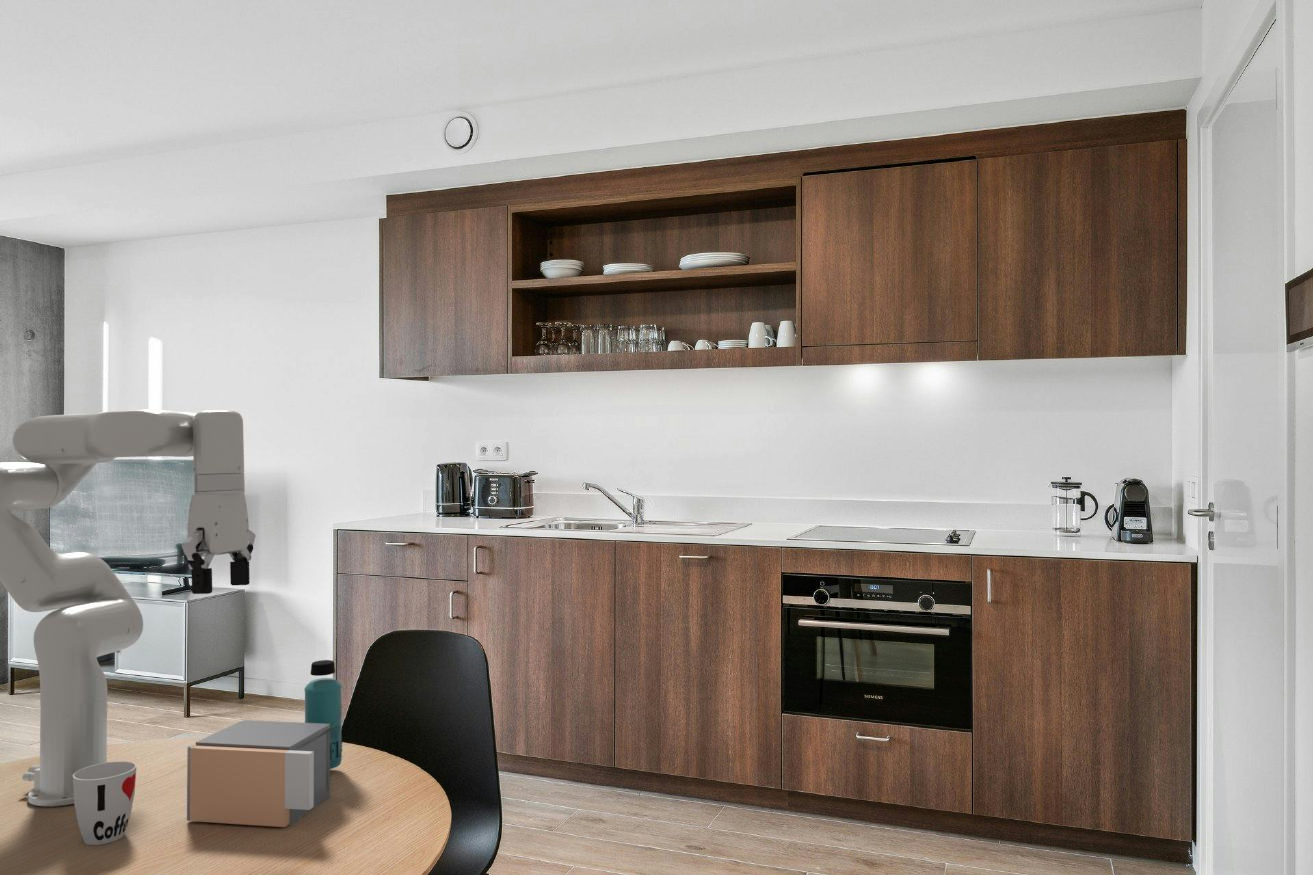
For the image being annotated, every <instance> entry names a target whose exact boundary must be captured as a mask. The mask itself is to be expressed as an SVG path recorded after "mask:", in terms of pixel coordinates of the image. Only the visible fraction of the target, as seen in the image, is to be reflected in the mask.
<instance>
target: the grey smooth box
mask: <svg viewBox="0 0 1313 875" xmlns="http://www.w3.org/2000/svg"><path fill="white" fill-rule="evenodd" d="M195 746H214V747H234V748H255V749H275V750H295V751H314V807H313V808H311V809H310V810H302V809H289V824H288V825H287V826H291V825H292V824H294V823H295V822H297V821H299V819H300V818H302V817H303V816H305V815H306V814H308V812H310V811H312V810H313V809H314V808H316V807H317V806H319V805H321V804H322V803H323V802H324V801H325V800H327V799H328V798H330V797H331V769H330V724H321V723H305V722H298V721H297V722H294V721H272V720H271V721H270V720H251V719H250V720H249V719H248V720H247V719H242V720H240V721H238V722H237V723H234V724H231V725H229V726H227V727H225V728H223V729H221V730H218V731H216V732H215V733H213V734H210V735H208V736H206V737H204V738H202V739H200V740H198V741H196V742H195ZM287 826H286V827H287Z"/></svg>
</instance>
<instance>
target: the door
mask: <svg viewBox="0 0 1313 875" xmlns="http://www.w3.org/2000/svg"><path fill="white" fill-rule="evenodd" d="M186 752H187V753H186V754H187V757H186V758H187V760H186V763H187V765H186V770H187V771H186V773H187V774H186V821H188V822H200V823H214V824H215V823H216V824H231V825H248V826H262V827H276V828H278V827H280V828H285V827H287V825H288V824H289V809H302V810H310V809H311V808H313V807H314V751H295V750H275V749H255V748H234V747H214V746H196V745H189V746H187V751H186ZM314 808H315V807H314ZM314 808H313V809H314ZM310 811H311V810H310Z"/></svg>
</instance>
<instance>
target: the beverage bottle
mask: <svg viewBox="0 0 1313 875" xmlns="http://www.w3.org/2000/svg"><path fill="white" fill-rule="evenodd" d="M335 673H336V667H335V661H334V660H331V659H323V660H322V659H321V660H316V661H313V662H312V663H311V665H310V675H312V676H317V677H321V676H328V675H334V674H335ZM342 708H343V703H342V683H340V682H339V681H338V680H337V679H336V678H334V677H321V678H315V679H312V680H311V681H309V683H308V684H306V685H305V687H304V723H321V724H330V770H331V769H332V770H333V769H335V768H338V767H339V766H340V765H341V763H342V759H343V754H342V753H343V738H342V734H343V733H342V730H343V728H342V718H343V716H342V715H343V714H342V713H343V712H342V711H343V709H342Z"/></svg>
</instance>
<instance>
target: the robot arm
mask: <svg viewBox="0 0 1313 875" xmlns="http://www.w3.org/2000/svg"><path fill="white" fill-rule="evenodd" d="M243 419H244V418H243V416H242V415H241V413H239V412H238V411H234V410H224V409H223V410H219V409H217V410H216V409H215V410H213V409H212V410H202V411H199V412H197V413H196V412H184V411H183V412H182V411H174V410H162V409H161V410H160V409H159V410H157V409H137V410H136V409H135V410H120V411H119V410H118V411H104V412H94V413H73V414H72V413H71V414H54V415H42V416H36V417H33V418H28V419H26V420H25V421H24V422H22V423H21V424H20V425H18V427H16V429H15V431H14V432H13V435H12V436H13V437H12V444H13V445H12V446H13V448H14V450H15V452H16V453H17V454H18V455H19V456H20V457H21V458H23V459H24V460H25V461H28V462H0V582H1V584H2V585H3V587H4V588H5V590H6V591H7V592H8V594H9V595H10V596H11V598H12V599H13V601H14V602H15V603H16V604H17V605H18V607H19V608H20V609H22V610H24V611H26V612H29V613H41V612H48V611H51V612H50V613H48V614H47V615H45V616H43V618H42V619H40V621H39V622H38V624H37V625H36V627H35V629H34V632H33V647H34V652H35V653H34V654H35V656H36V660H37V666H38V672H39V688H40V689H39V691H40V695H39V704H40V709H39V710H40V716H39V717H40V719H39V720H40V723H39V724H40V725H39V726H40V728H39V733H40V734H39V764H32V765H30V766H29V768H28V769H27V771H25V772H24V773H23V775H22V781H25V782H27V781H28V782H34V783H33V788H32V789H31V790H30V791H29V792H28V794H27V802H28V803H29V804H30V805H33V806H37V807H60V806H69V805H74V789H73V774H74V773H75V772H77V771H78V770H80V769H83V768H86V767H89V766H92V765H96V764H101V763H107V759H108V756H107V755H108V753H107V752H108V748H107V747H108V683H107V682H108V681H107V677H106V674H105V673H104V671H103V668H102V667H101V665H100V663H99V661H98V658H99V657H102V656H105V655H108V654H112V653H116V652H119V651H123V650H125V649H127V648H129V647H131V646H133V645H134V644H135V643H137V641H138V640H139V639H140V637H141V636H142V634H143V630H144V619H143V615H142V612H141V609H140V608H139V605H138V604H137V603H136V601H135V600H134V598H133V597H132V596H131V595H130V593H129V592H128V590H127V589H126V588H125V586H124V584H123V583H122V582H121V581H120V579H119V578H118V576H117V575H116V574H115V573H114V571H113V569H111V566H110V565H109V564H108V563H107V562H106V561H104V560H103V559H102V558H100V557H99V556H97V555H95V554H93V553H90V552H89V553H88V552H87V551H86V552H84V551H82V552H81V551H76V552H75V551H74V552H66V553H65V552H64V553H58V552H56V551H54V550H53V548H52V549H51V547H50V546H49V545H48V544H47V543H46V541H45V539H44V538H43V537H42V536H41V533H40V532H38V530H36V528H34V527H33V526H32V525H31V524H30V523H28V522H27V521H25V520H23V519H22V518H19V517H18V516H17V515H15V514H14V513H13V511H15V512H16V511H30V510H31V511H32V510H43V509H49V508H51V507H55V506H57V505H59V504H60V503H61V502H62V501H64V500H65V499H66V498H67V497H68V496H70V494H71V493H72V492H73V491H74V490H75V489H76V487H78V486H79V484H80V483H81V482H82V481H83V479H84V478H85V477H87V475H88V474H89V473H90V472H91V471H92V470H93V468H95V466H96V465H97V464H100V463H101V464H102V463H110V462H111V461H113V460H115V459H116V458H136V457H137V458H138V457H141V458H142V457H152V458H153V457H154V458H155V457H176V458H178V457H179V458H181V457H182V458H184V457H185V458H187V457H193V458H192V460H193V494H192V495H191V499H190V503H189V508H188V509H189V510H188V519H187V534H186V535H187V538H186V539H185V540H183V541H182V543H181V548H182V550H183V551H182V552H183V554H184V558H185V561H186V562H187V563H188V568H189V569H190V570H191V593H192V594H193V595H209V594H212V592H213V570H212V567H210V565H211V563H212V561H213V559H214V557H215V556H220V555H225V554H228V555H229V556H230V557H231V560H232V561H229V568H230V569H229V570H230V571H229V573H230V574H229V575H230V576H229V577H230V585H231V586H249V585H250V577H251V576H250V561H251V560H252V553H253V551H254V543H255V539H256V533H254V532H253V531H252V530H250V528H249V514H248V506H247V501H246V495H245V489H246V488H245V487H246V486H245V454H244V453H245V450H244V448H245V447H244V444H245V441H244V420H243ZM203 557H204V558H203Z"/></svg>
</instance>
